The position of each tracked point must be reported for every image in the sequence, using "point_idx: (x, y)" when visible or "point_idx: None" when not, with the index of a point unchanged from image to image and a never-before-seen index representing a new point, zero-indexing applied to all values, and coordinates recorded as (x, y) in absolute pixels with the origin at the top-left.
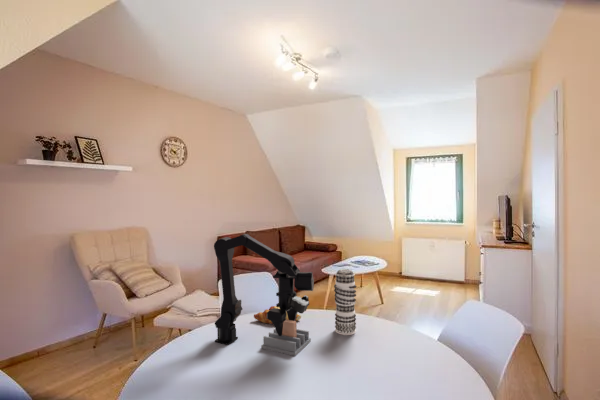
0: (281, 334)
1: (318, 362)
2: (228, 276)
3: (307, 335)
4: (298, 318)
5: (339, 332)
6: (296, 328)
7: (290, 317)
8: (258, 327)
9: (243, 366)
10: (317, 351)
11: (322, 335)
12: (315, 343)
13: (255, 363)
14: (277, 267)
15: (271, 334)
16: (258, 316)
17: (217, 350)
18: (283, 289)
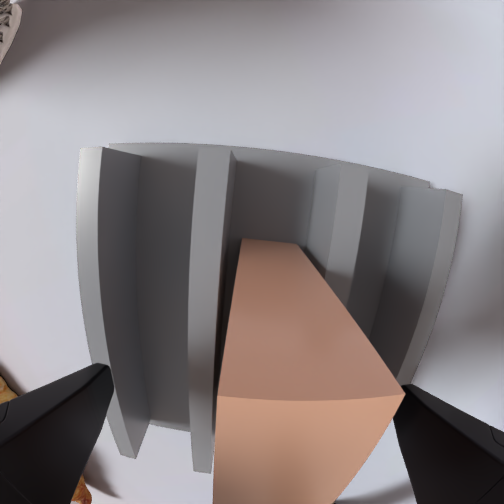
0: (425, 391)
1: (423, 28)
2: None
3: (121, 157)
4: None
5: (1, 49)
6: (235, 292)
7: (61, 469)
8: (125, 481)
9: (495, 376)
10: (290, 36)
11: (24, 118)
12: (148, 93)
13: (486, 355)
14: None
15: None
16: (81, 496)
17: (378, 494)
18: None
